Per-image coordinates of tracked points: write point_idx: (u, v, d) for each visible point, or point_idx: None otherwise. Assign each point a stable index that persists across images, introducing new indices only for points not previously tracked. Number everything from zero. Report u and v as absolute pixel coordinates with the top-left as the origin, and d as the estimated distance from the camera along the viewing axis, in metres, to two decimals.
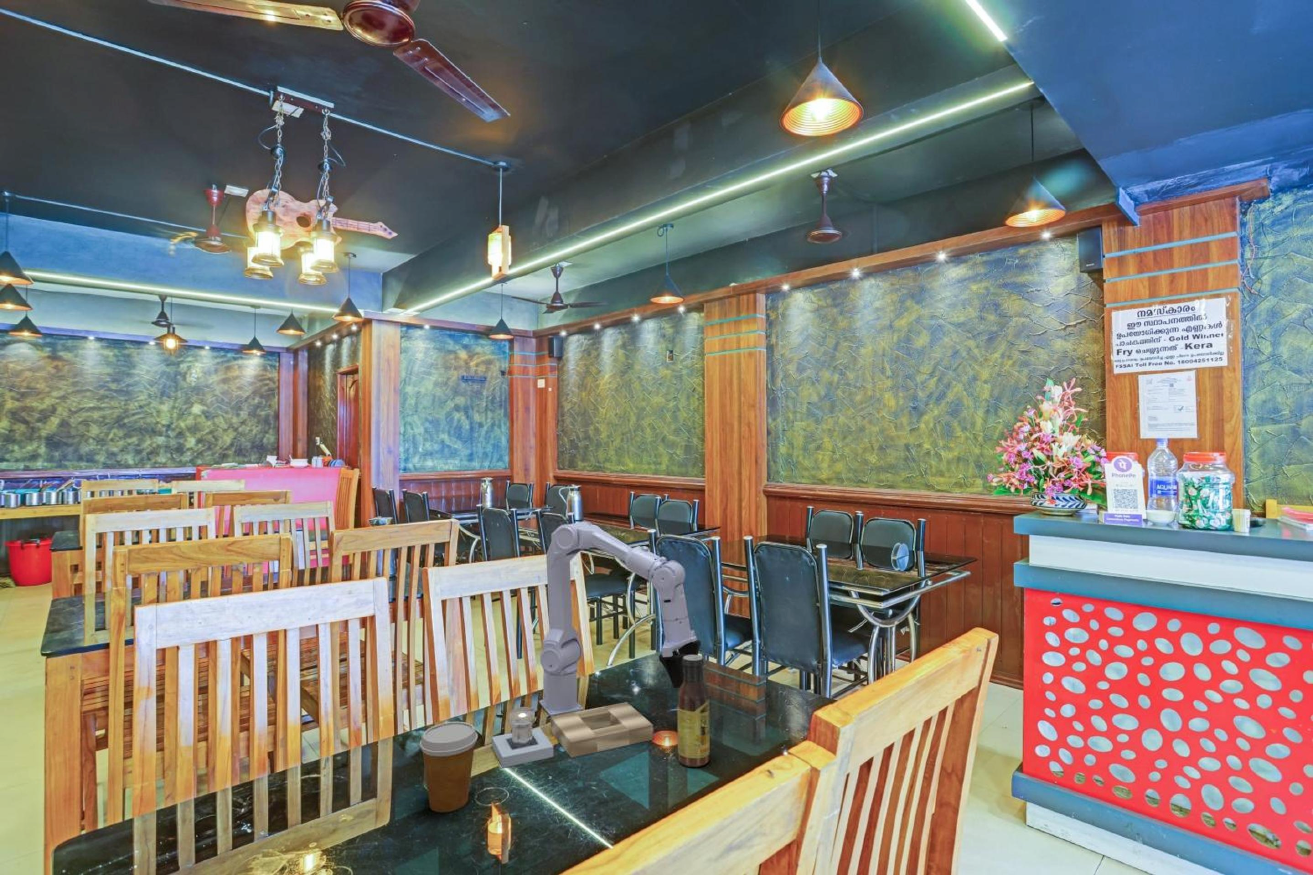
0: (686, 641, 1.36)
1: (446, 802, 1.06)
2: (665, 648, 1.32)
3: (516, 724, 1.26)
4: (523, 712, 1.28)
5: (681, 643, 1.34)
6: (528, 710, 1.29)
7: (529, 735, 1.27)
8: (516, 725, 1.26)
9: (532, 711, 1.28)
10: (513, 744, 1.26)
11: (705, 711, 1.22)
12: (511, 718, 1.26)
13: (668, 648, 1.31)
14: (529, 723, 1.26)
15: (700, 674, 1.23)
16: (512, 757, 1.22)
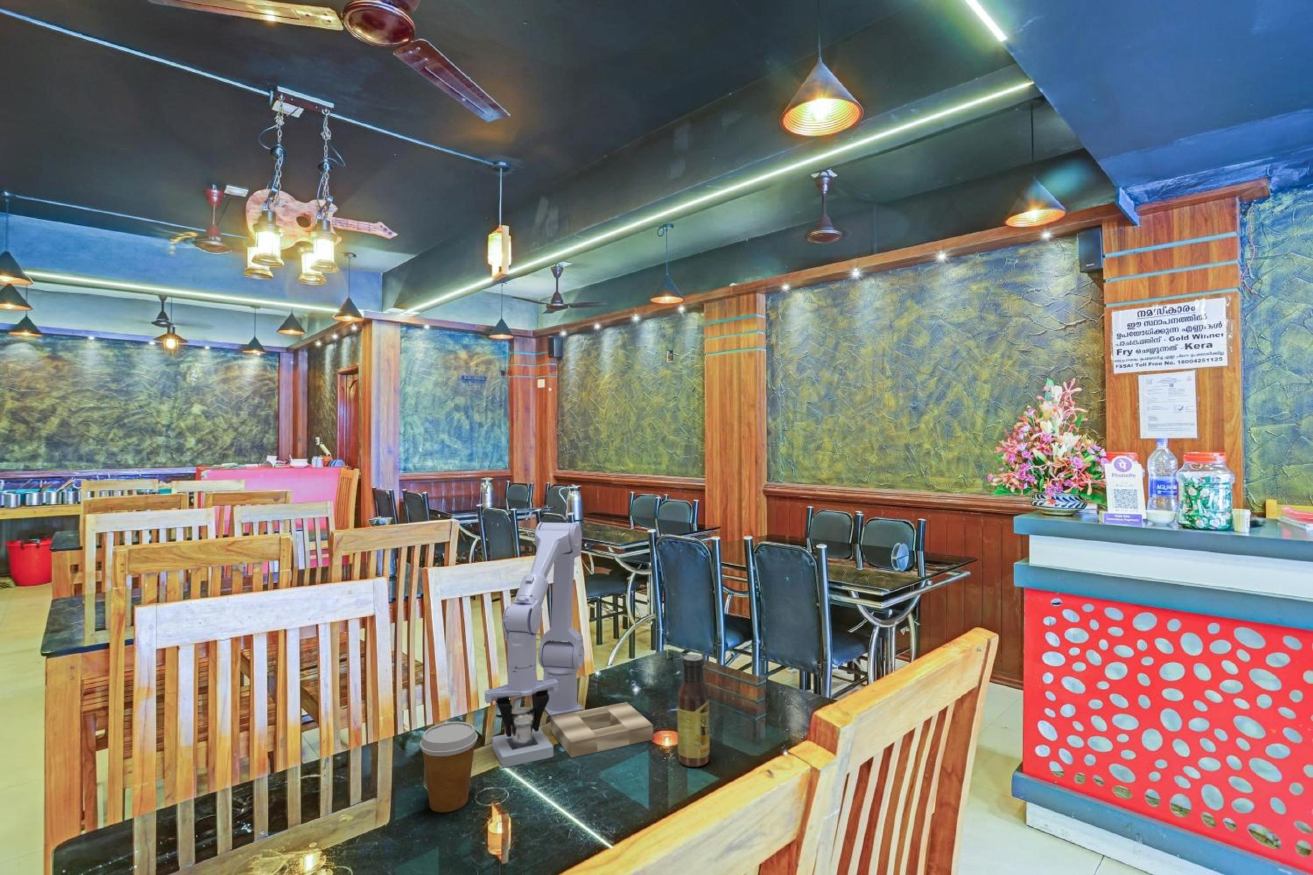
0: (516, 693, 1.25)
1: (446, 802, 1.06)
2: (485, 692, 1.25)
3: (516, 724, 1.26)
4: (523, 712, 1.28)
5: (507, 693, 1.25)
6: (528, 710, 1.29)
7: (529, 734, 1.27)
8: (516, 725, 1.26)
9: (532, 711, 1.28)
10: (513, 744, 1.26)
11: (705, 711, 1.22)
12: (511, 718, 1.26)
13: (486, 694, 1.25)
14: (529, 723, 1.26)
15: (700, 674, 1.23)
16: (512, 757, 1.22)
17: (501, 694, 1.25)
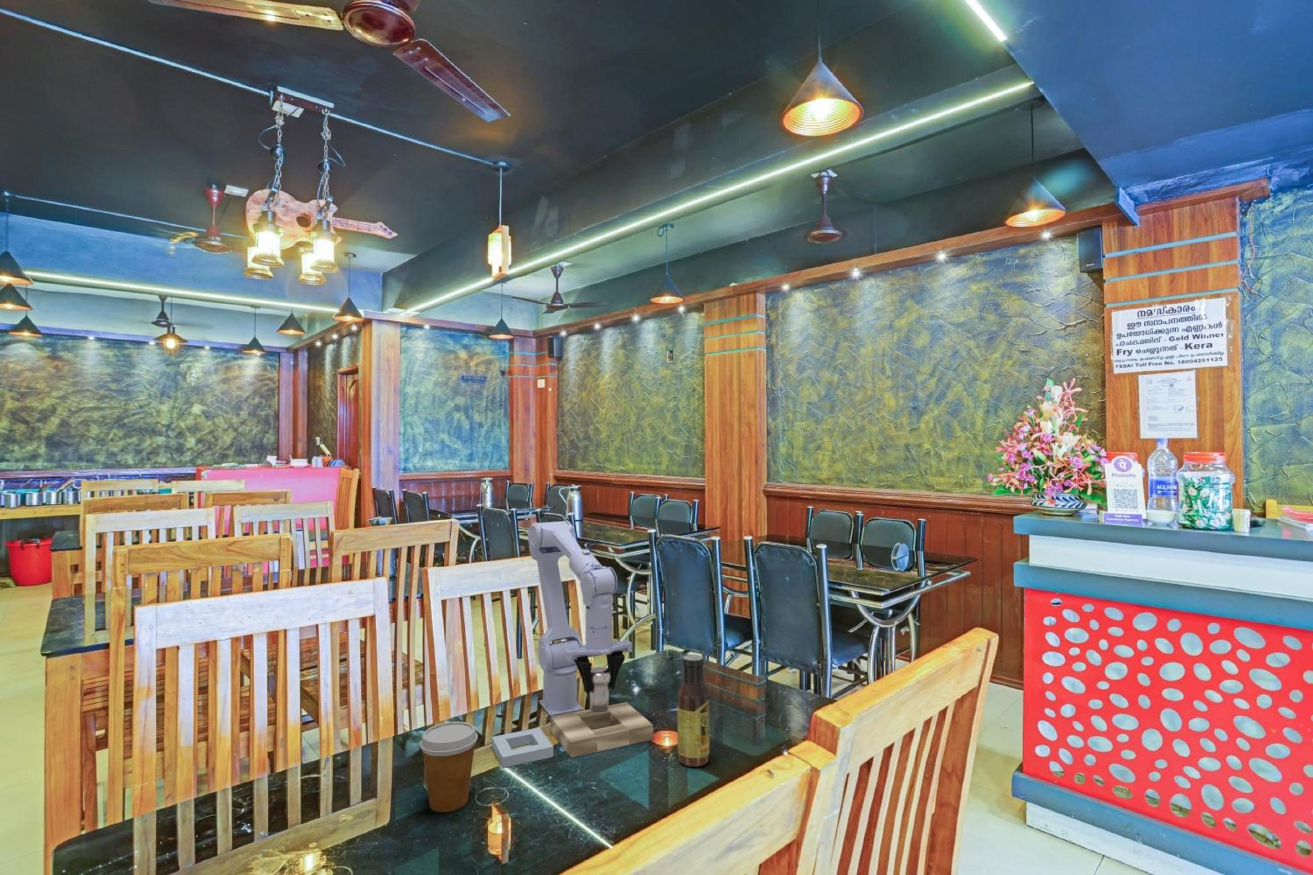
0: (595, 652, 1.33)
1: (446, 802, 1.06)
2: (566, 651, 1.33)
3: (595, 682, 1.33)
4: (600, 671, 1.35)
5: (587, 652, 1.32)
6: (604, 669, 1.36)
7: (606, 692, 1.34)
8: (595, 682, 1.33)
9: (609, 670, 1.36)
10: (592, 700, 1.34)
11: (705, 711, 1.22)
12: (590, 676, 1.34)
13: (567, 652, 1.32)
14: (607, 681, 1.34)
15: (700, 674, 1.23)
16: (512, 757, 1.22)
17: (581, 653, 1.32)
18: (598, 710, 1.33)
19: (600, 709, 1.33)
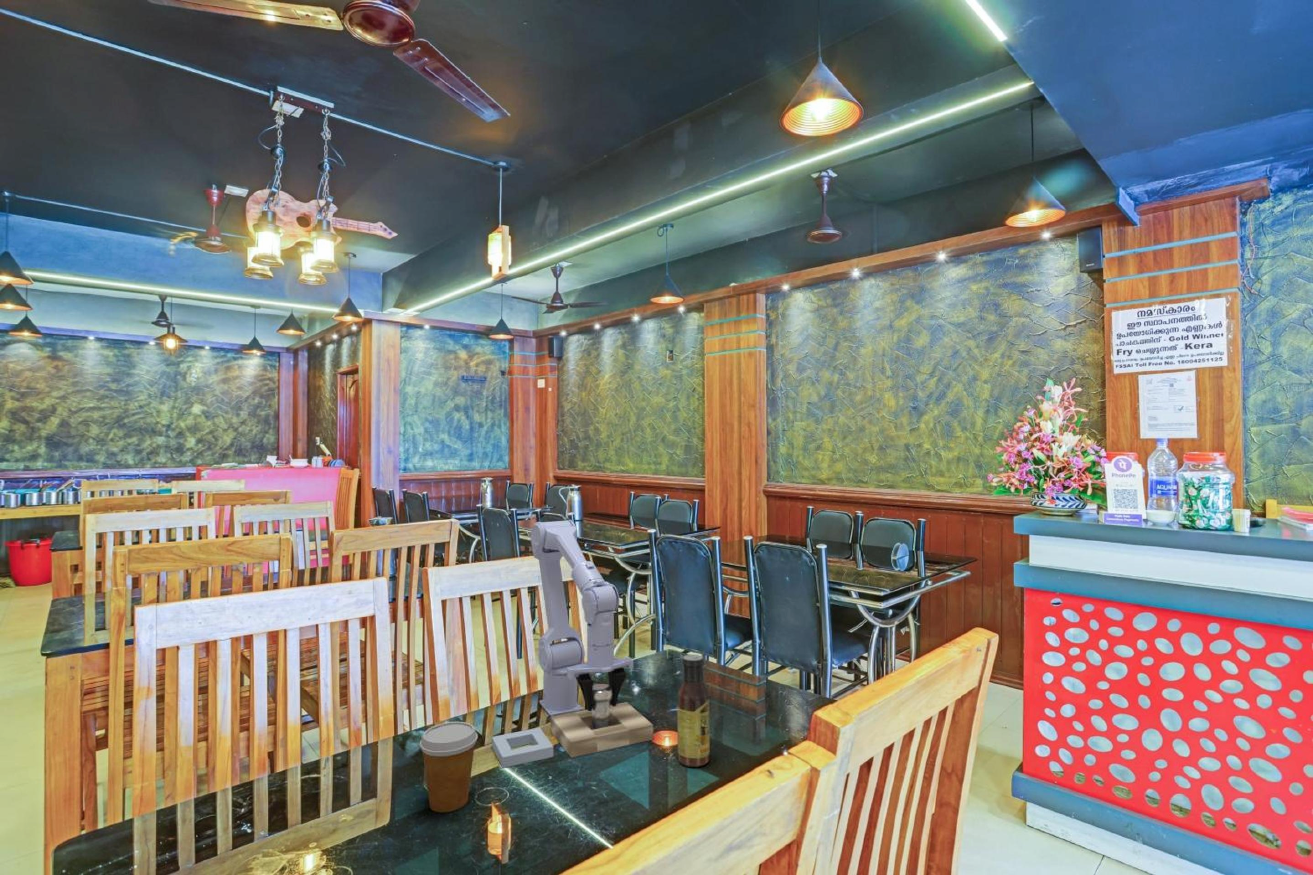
0: (596, 669, 1.33)
1: (446, 802, 1.06)
2: (568, 669, 1.33)
3: (597, 699, 1.33)
4: (602, 688, 1.35)
5: (589, 670, 1.33)
6: (606, 686, 1.36)
7: (608, 709, 1.34)
8: (597, 700, 1.33)
9: (610, 687, 1.36)
10: (593, 718, 1.34)
11: (705, 711, 1.22)
12: (592, 693, 1.34)
13: (569, 670, 1.32)
14: (608, 698, 1.34)
15: (700, 674, 1.23)
16: (512, 757, 1.22)
17: (583, 670, 1.32)
18: (600, 727, 1.33)
19: (602, 726, 1.33)
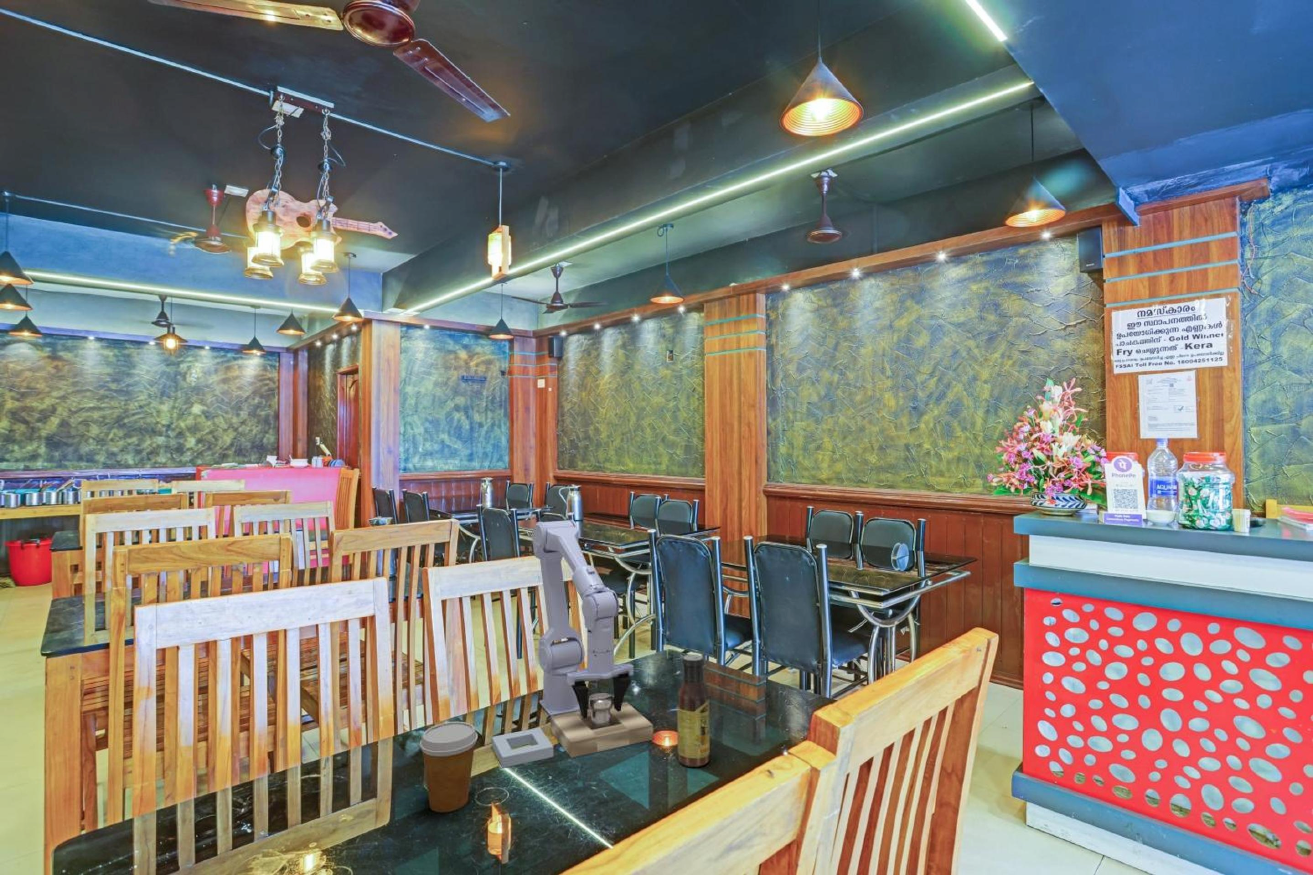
0: (596, 676, 1.33)
1: (446, 802, 1.06)
2: (568, 675, 1.33)
3: (597, 709, 1.33)
4: (601, 697, 1.35)
5: (589, 676, 1.32)
6: (605, 696, 1.36)
7: (607, 719, 1.34)
8: (596, 710, 1.33)
9: (610, 697, 1.36)
10: (593, 727, 1.34)
11: (705, 711, 1.22)
12: (591, 703, 1.34)
13: (569, 676, 1.32)
14: (608, 708, 1.34)
15: (700, 674, 1.23)
16: (512, 757, 1.22)
17: (583, 677, 1.32)
18: None
19: None
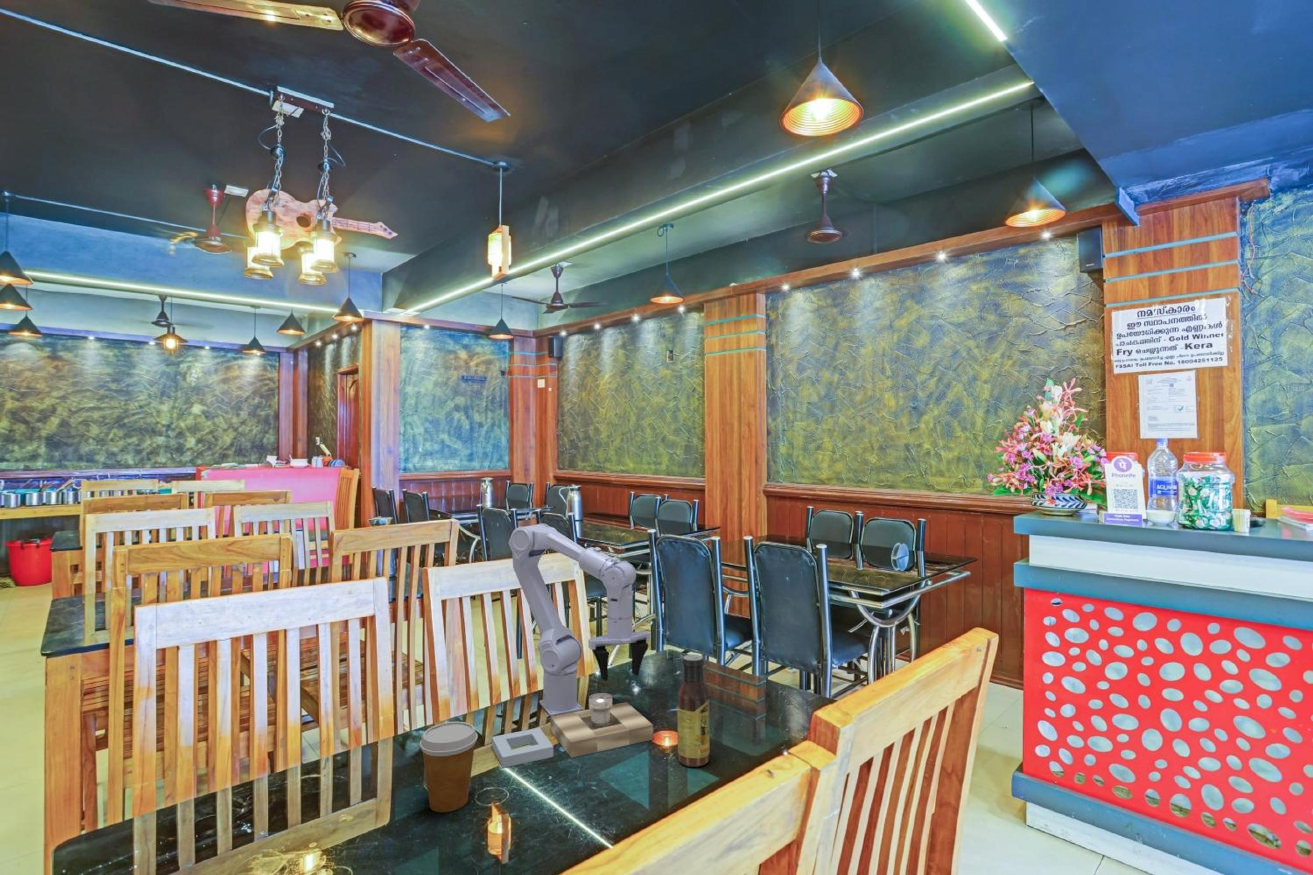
0: (616, 641, 1.41)
1: (446, 802, 1.06)
2: (590, 640, 1.41)
3: (597, 709, 1.33)
4: (601, 697, 1.35)
5: (609, 641, 1.41)
6: (605, 696, 1.36)
7: (607, 719, 1.34)
8: (596, 710, 1.33)
9: (610, 697, 1.36)
10: (593, 727, 1.34)
11: (705, 711, 1.22)
12: (591, 703, 1.34)
13: (590, 641, 1.41)
14: (608, 708, 1.34)
15: (700, 674, 1.23)
16: (512, 757, 1.22)
17: (604, 642, 1.41)
18: None
19: None
